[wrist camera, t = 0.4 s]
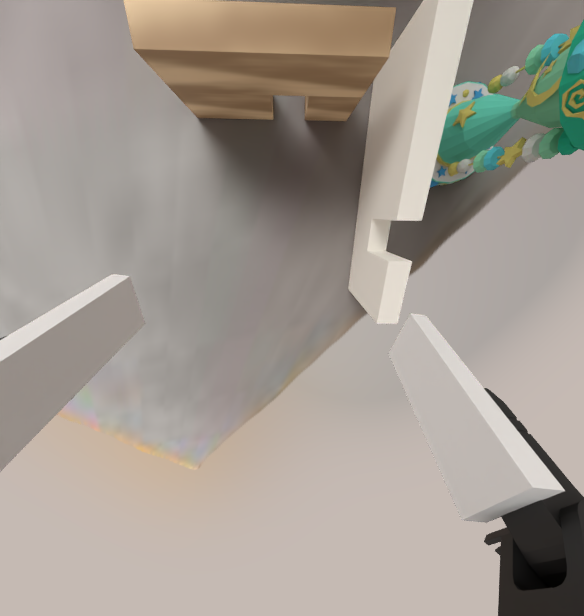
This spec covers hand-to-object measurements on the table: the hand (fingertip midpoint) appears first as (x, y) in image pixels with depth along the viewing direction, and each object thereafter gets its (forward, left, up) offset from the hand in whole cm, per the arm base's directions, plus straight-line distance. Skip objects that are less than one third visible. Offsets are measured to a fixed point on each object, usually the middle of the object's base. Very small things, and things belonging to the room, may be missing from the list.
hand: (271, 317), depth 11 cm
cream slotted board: (-6, +12, -24) cm, 27 cm away
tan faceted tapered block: (-16, -1, -24) cm, 29 cm away
